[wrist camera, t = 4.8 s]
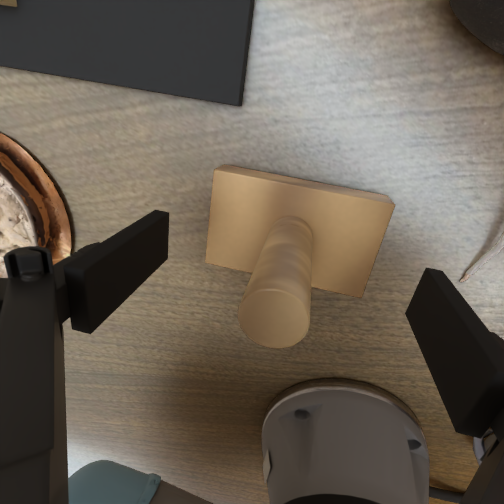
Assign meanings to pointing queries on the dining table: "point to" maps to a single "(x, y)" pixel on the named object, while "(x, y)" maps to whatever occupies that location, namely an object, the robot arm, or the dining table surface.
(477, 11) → the stone
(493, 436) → the figurine
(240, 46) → the mat
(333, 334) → the dining table surface
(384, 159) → the dining table surface
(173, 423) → the dining table surface
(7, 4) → the beige rectangular block
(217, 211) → the stamp
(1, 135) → the frosted cake
